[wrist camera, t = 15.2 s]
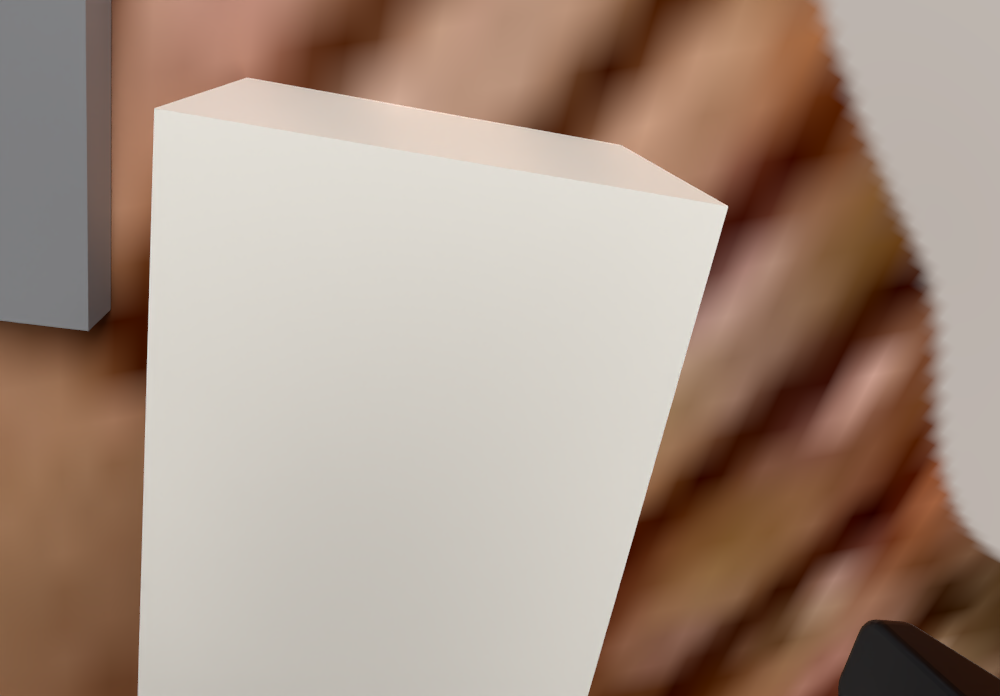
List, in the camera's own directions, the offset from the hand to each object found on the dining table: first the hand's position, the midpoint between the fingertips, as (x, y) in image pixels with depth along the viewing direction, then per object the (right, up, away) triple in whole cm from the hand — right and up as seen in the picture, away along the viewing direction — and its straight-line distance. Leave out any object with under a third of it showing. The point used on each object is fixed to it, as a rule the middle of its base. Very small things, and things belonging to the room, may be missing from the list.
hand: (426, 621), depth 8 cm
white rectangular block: (-1, +3, +7) cm, 7 cm away
